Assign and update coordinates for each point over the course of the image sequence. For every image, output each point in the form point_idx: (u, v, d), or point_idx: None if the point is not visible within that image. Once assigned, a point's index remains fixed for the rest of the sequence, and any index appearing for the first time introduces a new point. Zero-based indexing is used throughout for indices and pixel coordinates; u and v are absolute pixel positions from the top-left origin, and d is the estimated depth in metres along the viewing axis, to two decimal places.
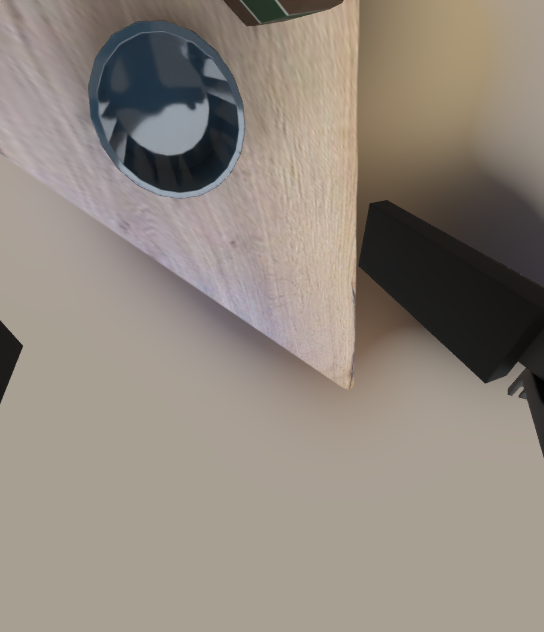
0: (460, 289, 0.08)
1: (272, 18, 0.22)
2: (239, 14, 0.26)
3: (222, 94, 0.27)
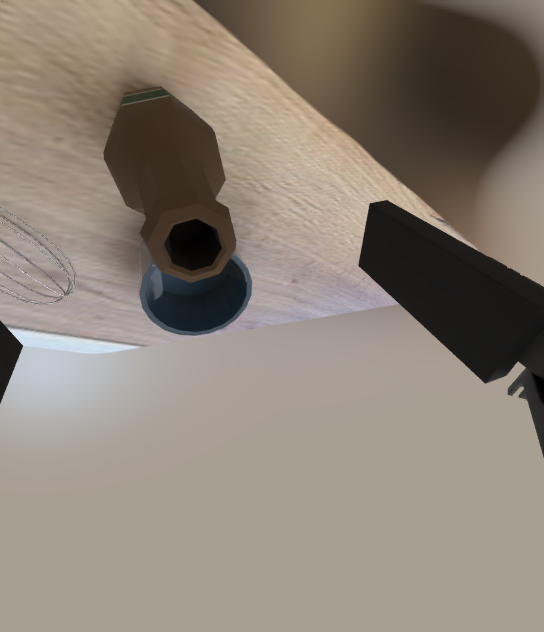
0: (460, 289, 0.08)
1: None
2: None
3: None
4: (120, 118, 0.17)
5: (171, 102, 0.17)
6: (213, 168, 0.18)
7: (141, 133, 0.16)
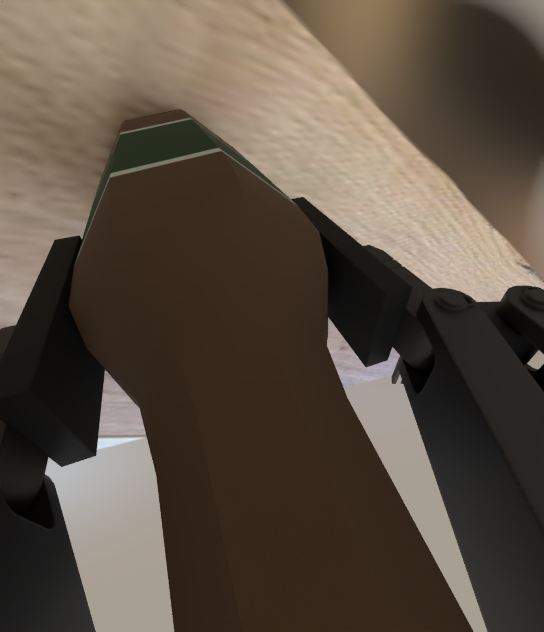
0: (342, 280, 0.09)
1: None
2: None
3: None
4: (105, 223, 0.06)
5: (235, 178, 0.07)
6: (325, 324, 0.08)
7: (164, 284, 0.05)
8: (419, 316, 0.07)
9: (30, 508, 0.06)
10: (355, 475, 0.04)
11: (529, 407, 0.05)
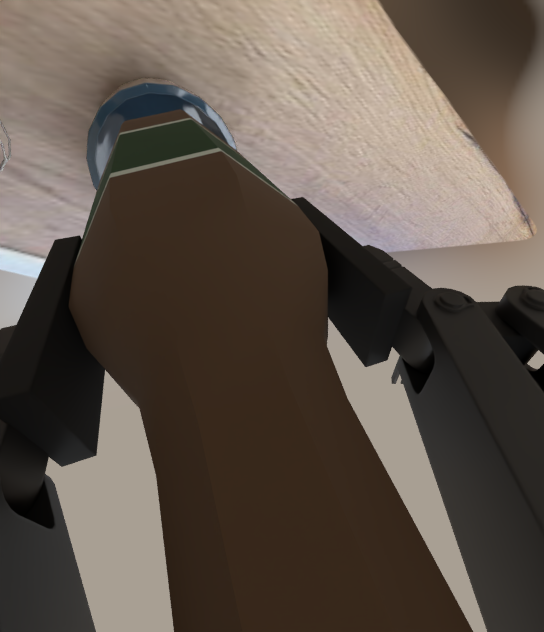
0: (342, 279, 0.09)
1: None
2: None
3: None
4: (105, 223, 0.06)
5: (235, 178, 0.07)
6: (325, 324, 0.08)
7: (164, 284, 0.05)
8: (419, 316, 0.07)
9: (30, 508, 0.06)
10: (355, 475, 0.04)
11: (529, 407, 0.05)
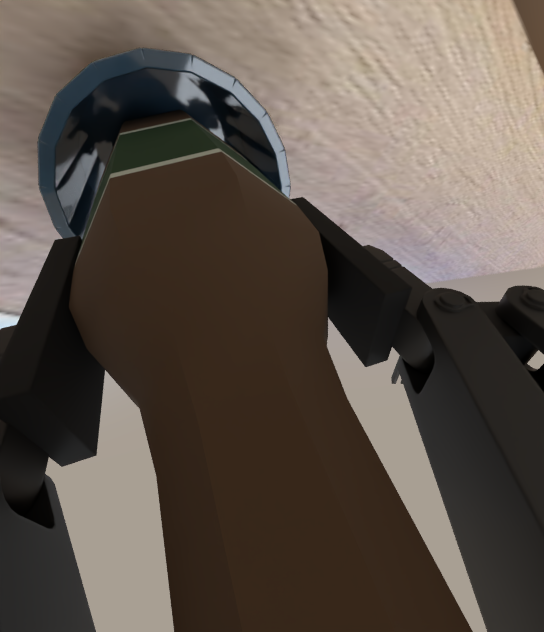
0: (342, 280, 0.09)
1: None
2: None
3: (202, 82, 0.16)
4: (105, 224, 0.06)
5: (235, 178, 0.07)
6: (325, 325, 0.08)
7: (163, 284, 0.05)
8: (419, 316, 0.07)
9: (30, 508, 0.06)
10: (355, 476, 0.04)
11: (529, 407, 0.05)
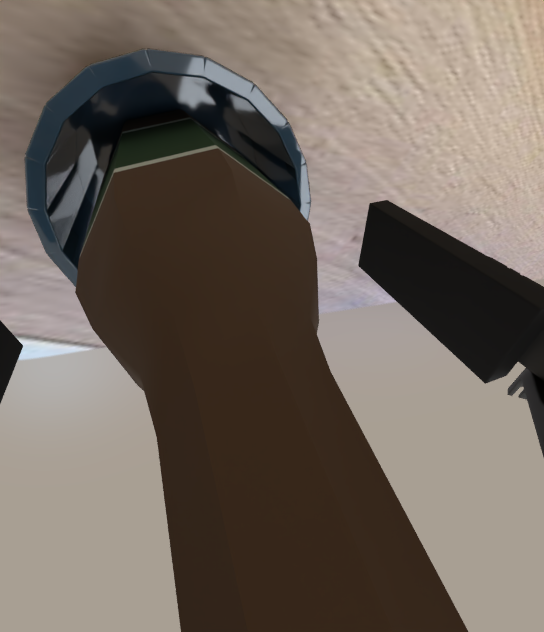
0: (461, 290, 0.08)
1: None
2: None
3: (213, 87, 0.14)
4: (110, 214, 0.07)
5: (230, 172, 0.07)
6: (314, 310, 0.08)
7: (164, 267, 0.06)
8: None
9: None
10: (331, 430, 0.04)
11: None
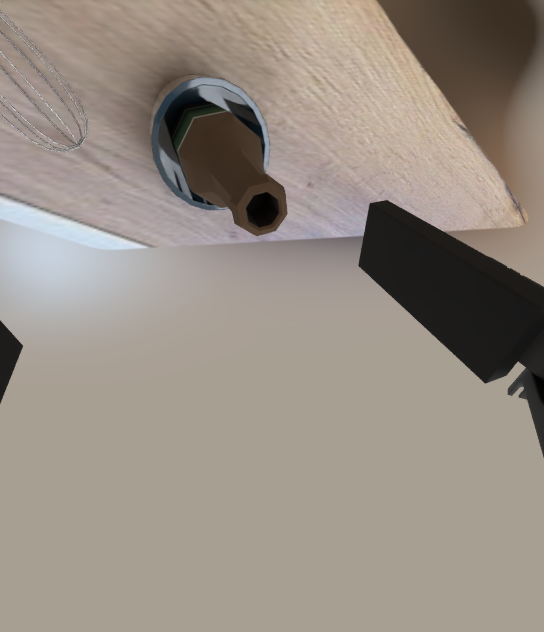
0: (460, 290, 0.08)
1: None
2: None
3: (224, 90, 0.31)
4: (196, 127, 0.23)
5: (232, 116, 0.24)
6: (259, 164, 0.25)
7: (214, 138, 0.22)
8: None
9: None
10: (253, 163, 0.21)
11: None
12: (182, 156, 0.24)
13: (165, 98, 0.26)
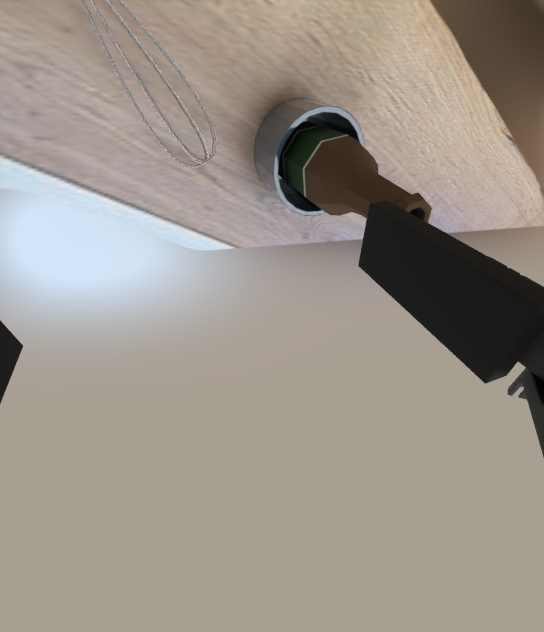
0: (461, 289, 0.08)
1: None
2: None
3: (326, 113, 0.36)
4: (329, 150, 0.28)
5: (357, 141, 0.29)
6: None
7: (348, 160, 0.28)
8: None
9: None
10: None
11: None
12: (313, 173, 0.29)
13: (292, 124, 0.31)
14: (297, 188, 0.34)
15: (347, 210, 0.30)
